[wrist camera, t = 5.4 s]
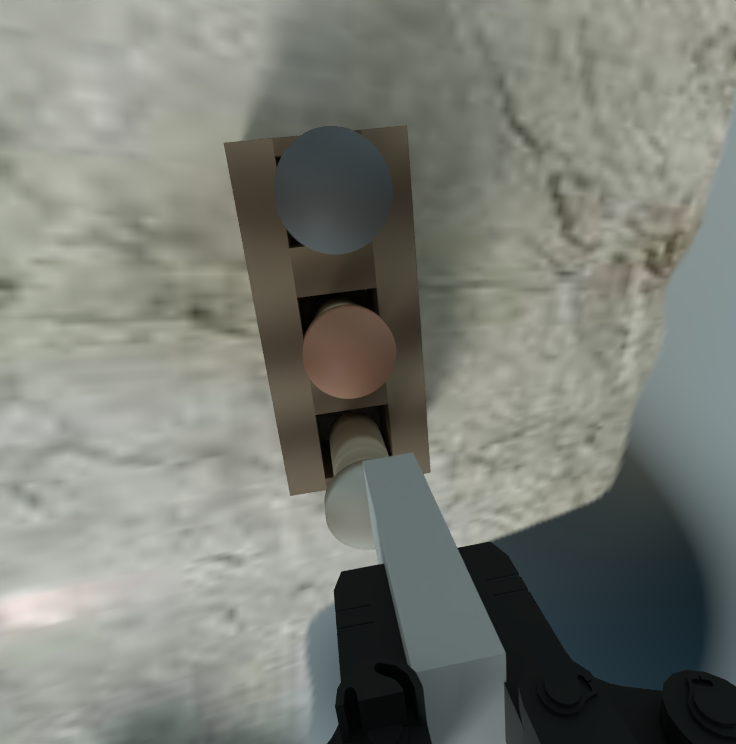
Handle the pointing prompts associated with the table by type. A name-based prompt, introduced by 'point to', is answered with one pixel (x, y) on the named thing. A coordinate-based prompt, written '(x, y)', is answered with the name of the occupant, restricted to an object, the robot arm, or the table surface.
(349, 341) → the plug terracotta
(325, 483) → the socket block
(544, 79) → the table surface
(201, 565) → the table surface
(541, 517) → the table surface
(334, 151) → the plug charcoal
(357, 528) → the plug cream
